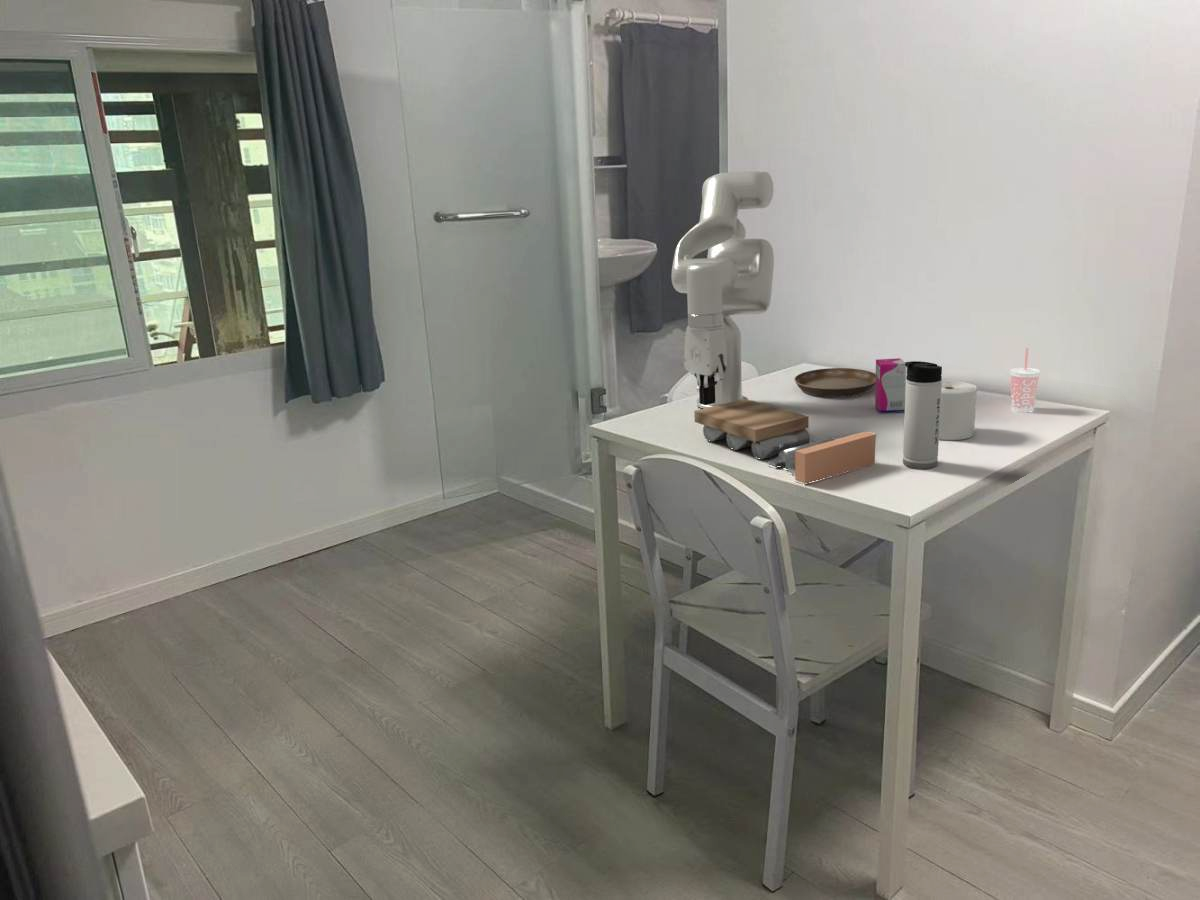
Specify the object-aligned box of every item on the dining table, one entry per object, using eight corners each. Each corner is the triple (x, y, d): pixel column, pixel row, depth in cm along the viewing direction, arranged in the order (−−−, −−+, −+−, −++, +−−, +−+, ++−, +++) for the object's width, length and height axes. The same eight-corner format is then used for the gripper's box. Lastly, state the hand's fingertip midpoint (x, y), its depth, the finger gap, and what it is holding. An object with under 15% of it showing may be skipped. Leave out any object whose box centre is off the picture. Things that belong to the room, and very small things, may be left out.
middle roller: (726, 447, 192) (726, 429, 191) (770, 436, 198) (770, 418, 196) (738, 452, 189) (738, 433, 187) (783, 440, 194) (783, 422, 193)
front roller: (751, 456, 185) (751, 437, 184) (796, 444, 191) (796, 426, 190) (764, 461, 182) (764, 442, 181) (810, 449, 188) (810, 430, 187)
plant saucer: (836, 405, 219) (836, 391, 218) (777, 390, 236) (777, 377, 235) (896, 389, 230) (896, 376, 229) (835, 376, 246) (835, 364, 245)
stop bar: (795, 481, 171) (795, 450, 169) (864, 460, 179) (865, 431, 178) (804, 485, 169) (804, 454, 167) (874, 463, 177) (875, 434, 176)
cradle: (768, 466, 180) (768, 461, 180) (821, 451, 187) (821, 446, 186) (795, 476, 174) (795, 470, 173) (849, 460, 180) (849, 455, 180)
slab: (694, 422, 198) (694, 410, 198) (745, 409, 205) (745, 398, 204) (755, 442, 182) (755, 429, 181) (808, 427, 189) (808, 416, 188)
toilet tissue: (978, 440, 187) (981, 393, 184) (916, 441, 189) (919, 393, 186) (968, 425, 197) (971, 380, 194) (909, 426, 199) (911, 381, 196)
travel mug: (895, 460, 178) (899, 359, 172) (928, 457, 179) (933, 356, 173) (908, 471, 172) (913, 366, 166) (943, 467, 173) (948, 363, 167)
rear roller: (703, 439, 199) (702, 421, 197) (746, 428, 204) (746, 411, 203) (714, 443, 195) (714, 425, 194) (758, 432, 201) (758, 414, 200)
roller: (823, 453, 185) (825, 434, 183) (837, 460, 182) (839, 441, 180) (777, 466, 179) (779, 447, 177) (791, 473, 176) (793, 454, 174)
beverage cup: (1007, 413, 204) (1012, 350, 200) (1007, 405, 209) (1011, 345, 205) (1037, 414, 202) (1043, 351, 197) (1036, 406, 207) (1041, 345, 203)
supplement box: (899, 405, 215) (901, 357, 211) (905, 412, 209) (907, 363, 206) (874, 406, 215) (875, 358, 212) (878, 413, 210) (880, 364, 206)
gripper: (671, 319, 203) (674, 400, 209) (713, 327, 191) (714, 412, 196) (698, 315, 207) (700, 394, 212) (741, 322, 195) (742, 406, 200)
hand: (707, 403), depth 204 cm, fingers closed
